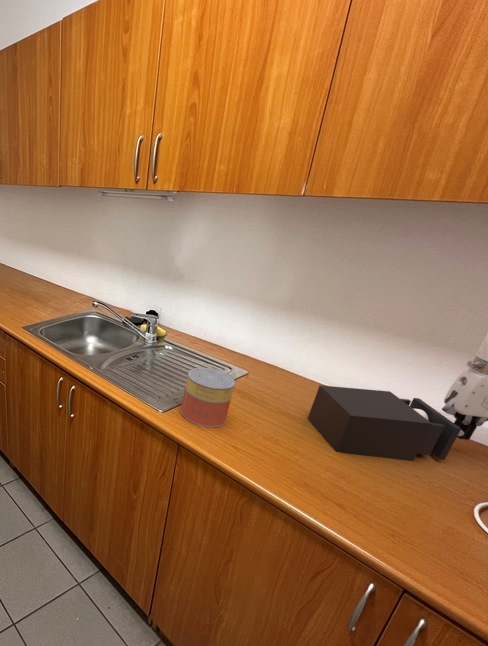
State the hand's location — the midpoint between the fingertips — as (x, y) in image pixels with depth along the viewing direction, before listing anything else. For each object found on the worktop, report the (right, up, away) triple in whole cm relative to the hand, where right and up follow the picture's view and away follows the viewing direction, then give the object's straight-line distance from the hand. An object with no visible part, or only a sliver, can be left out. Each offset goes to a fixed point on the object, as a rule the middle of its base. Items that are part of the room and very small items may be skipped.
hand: (458, 435), depth 94 cm
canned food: (-53, +1, +16) cm, 55 cm away
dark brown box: (-19, -2, +6) cm, 20 cm away
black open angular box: (-11, -2, +3) cm, 12 cm away
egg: (-12, 0, +3) cm, 12 cm away
